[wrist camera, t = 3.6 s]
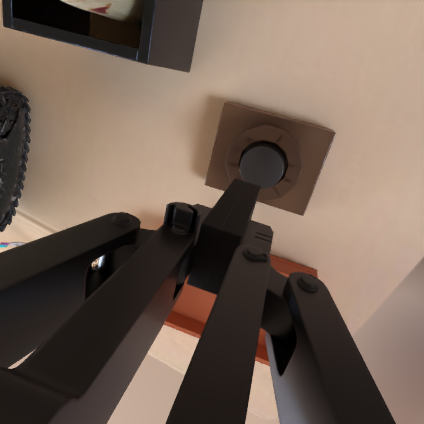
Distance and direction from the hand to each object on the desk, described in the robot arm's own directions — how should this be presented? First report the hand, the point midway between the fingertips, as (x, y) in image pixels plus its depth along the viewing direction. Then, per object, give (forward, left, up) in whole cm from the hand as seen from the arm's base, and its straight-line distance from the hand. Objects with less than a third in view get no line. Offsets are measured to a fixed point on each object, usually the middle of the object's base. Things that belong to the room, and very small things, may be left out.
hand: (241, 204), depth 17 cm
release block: (0, 0, -14) cm, 14 cm away
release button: (0, 0, -11) cm, 11 cm away
